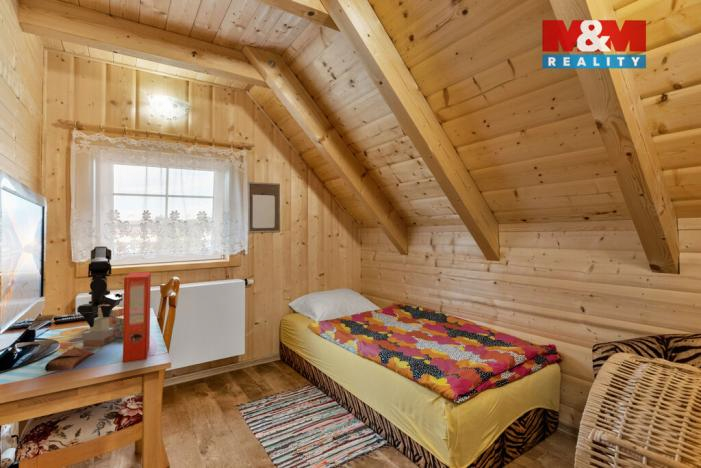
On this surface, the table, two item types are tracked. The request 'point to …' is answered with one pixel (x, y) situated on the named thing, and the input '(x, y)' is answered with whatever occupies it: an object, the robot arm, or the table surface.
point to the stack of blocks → (115, 320)
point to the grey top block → (98, 334)
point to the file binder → (136, 316)
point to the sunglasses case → (68, 359)
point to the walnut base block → (98, 341)
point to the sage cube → (100, 324)
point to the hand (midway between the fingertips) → (99, 324)
